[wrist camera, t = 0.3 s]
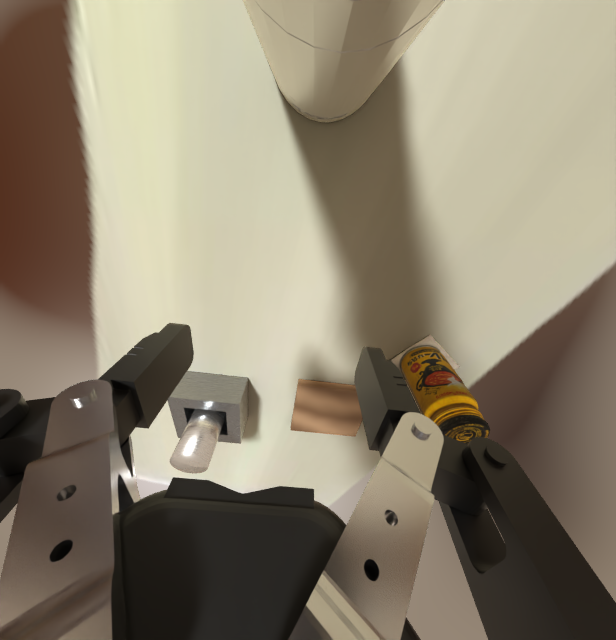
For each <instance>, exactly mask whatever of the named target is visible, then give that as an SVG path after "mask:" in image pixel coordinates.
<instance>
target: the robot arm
mask: <svg viewBox="0 0 616 640" xmlns="http://www.w3.org/2000/svg"><path fill="white" fill-rule="evenodd" d="M444 1H445V0H243V2H244V4H245V7H246V9H247V12H248V14H249V16H250V19H251V21H252V24H253V26H254V29H255V31H256V34H257V36H258V38H259V41H260V43H261V46H262V48H263V51H264V53H265V56H266V58H267V61H268V63H269V66H270V68H271V70H272V73H273V75H274V77H275V80H276V82H277V84H278V87H279V89H280V91H281V92H282V94H283V95H284V97H285V98H286V100H287V102H288V103H289V104H290V105H291V106H292V107H293V108H294V109H295V110H296V111H297V112H298V113H300V114H302V115H303V116H305V117H306V118H308V119H311V120H314V121H317V122H334V121H338V120H342V119H344V118H345V117H347V116H349V115H351V114H353V113H354V112H355V111H356V110H358V109H359V108H360V107H361V106H362V105H363V104H364V103H365V102H366V100H367V99H368V98H369V97H370V95H371V94H372V93H373V92H374V90H375V89H376V88H377V87H378V86H379V85H380V83H381V82H382V81H383V79H384V78H385V77H386V76H387V74H388V73H389V72H390V70H391V69H392V68H393V67H394V65H395V64H396V63H397V61H398V60H399V59H400V58H401V56H402V55H403V54H404V52H405V51H406V50H407V49H408V47H409V46H410V45H411V43H412V42H413V41H414V39H415V38H416V37H417V36H418V34H419V33H420V32H421V30H422V29H423V28H424V27H425V25H426V24H427V23H428V21H429V20H430V19H431V18H432V16H433V15H434V14H435V12H436V11H437V10H438V9H439V7H440V6H441V5H442V3H443V2H444ZM193 354H194V353H193V345H192V337H191V330H190V327H189V325H183V324H175V323H169V324H167V325H166V326H165V327H164V328H163V329H162V330H161V331H160V332H159V333H153V334H151V335H149V336H147V337H145V338H143V339H142V340H141V341H140V342H139V343H138V344H137V345H135V346H134V348H132V349H131V350H130V351H129V352H128V353H127V355H124V356H123V357H122V358H121V359H120V360H119V361H118V362H117V363H116V364H114V365H113V366H112V367H111V368H110V369H109V370H108V371H107V372H106V373H105V374H103V375H102V376H101V377H100V378H99V379H98V380H88V381H84V382H80V383H77V384H75V385H73V386H70V387H69V388H67V389H65V390H64V391H62V392H61V393H59V394H58V395H57V396H56V397H53V398H45V399H37V400H29V401H25V399H24V398H23V396H22V395H21V393H20V392H19V391H17V390H13V389H1V390H0V522H1V521H2V520H3V519H4V518H5V517H6V516H7V514H8V513H9V512H10V511H11V510H12V509H13V507H14V506H15V505H16V504H17V507H16V512H15V516H14V521H13V525H12V529H11V534H10V538H9V542H8V547H7V551H6V556H5V560H4V564H3V569H2V573H1V577H0V640H421V639H420V638H419V636H418V635H417V633H416V632H415V630H414V629H413V627H412V625H411V624H410V622H409V621H408V620H407V618H406V615H407V610H408V607H409V602H410V598H411V594H412V590H413V586H414V582H415V578H416V574H417V570H418V565H419V561H420V557H421V553H422V549H423V545H424V541H425V537H426V533H427V529H428V525H429V520H430V516H431V512H432V508H433V504H434V499H435V500H438V501H439V503H440V506H441V509H442V512H443V515H444V517H445V520H446V523H447V526H448V529H449V531H450V534H451V537H452V540H453V543H454V545H455V548H456V551H457V554H458V556H459V559H460V562H461V565H462V567H463V570H464V573H465V576H466V579H467V582H468V584H469V587H470V590H471V592H472V596H473V598H474V601H475V604H476V607H477V609H478V612H479V615H480V618H481V621H482V623H483V626H484V629H485V632H486V635H487V637H488V640H616V603H615V601H614V600H613V598H612V597H611V595H610V594H609V593H608V591H607V590H606V589H605V587H604V585H603V584H602V582H601V581H600V580H599V578H598V577H597V576H596V574H595V573H594V571H593V570H592V569H591V567H590V565H589V564H588V563H587V561H586V560H585V558H584V557H583V555H582V554H581V552H580V551H579V550H578V548H577V547H576V545H575V544H574V542H573V541H572V540H571V538H570V537H569V535H568V534H567V533H566V531H565V530H564V528H563V527H562V525H561V524H560V522H559V521H558V520H557V518H556V517H555V515H554V514H553V513H552V511H551V509H550V508H549V507H548V505H547V504H546V502H545V501H544V499H543V498H542V497H541V495H540V494H539V492H538V491H537V489H536V488H535V487H534V485H533V484H532V482H531V481H530V480H529V478H528V477H527V475H526V474H525V472H524V471H523V470H522V468H521V467H520V465H519V464H518V462H517V461H516V460H515V458H514V457H513V456H512V455H511V454H510V453H509V452H508V451H507V450H506V449H505V448H503V447H502V446H501V445H499V444H498V443H496V442H494V441H492V440H490V439H488V438H484V437H475V438H473V439H472V440H471V441H470V442H469V443H468V444H466V443H463V442H461V441H458V440H456V439H453V438H450V437H448V436H445V435H443V434H442V432H441V430H440V429H439V427H438V426H437V425H436V424H435V423H434V422H433V421H432V420H431V419H429V418H428V417H426V416H424V415H422V414H421V413H420V411H419V409H418V407H417V405H416V403H415V401H414V399H413V396H412V394H411V392H410V390H409V388H408V387H407V384H406V382H405V380H404V379H403V376H402V374H401V372H400V370H399V368H398V367H397V366H396V365H395V364H394V363H393V362H392V361H391V360H386V359H385V356H384V354H383V352H382V350H381V349H380V348H372V347H364V348H363V349H362V352H361V355H360V359H359V362H358V365H357V368H356V371H355V387H356V392H357V396H358V401H359V405H360V409H361V414H362V418H363V423H364V427H365V432H366V436H367V441H368V445H369V450H376V451H379V452H380V456H381V459H380V461H379V463H378V465H377V467H376V468H375V470H374V472H373V474H372V476H371V478H370V480H369V482H368V484H367V486H366V488H365V490H364V492H363V494H362V496H361V498H360V500H359V502H358V504H357V506H356V508H355V510H354V512H353V514H352V516H351V518H350V520H349V522H348V523H347V525H346V524H345V523H344V522H343V521H342V520H341V519H340V518H339V517H338V516H337V515H336V514H335V513H334V512H333V511H331V510H330V509H329V508H328V507H326V506H324V505H323V504H321V503H319V502H317V501H314V489H308V488H295V487H283V486H279V487H274V488H269V489H265V490H260V491H255V492H250V493H245V494H242V493H238V492H236V491H233V490H231V489H228V488H226V487H223V486H221V485H219V484H216V483H214V482H211V481H209V480H198V479H185V478H173V479H172V481H171V483H170V485H169V487H168V489H167V490H163V491H160V492H157V493H154V494H152V495H149V496H147V497H145V498H143V499H140V495H139V491H138V487H137V482H136V474H135V465H134V457H133V449H132V440H131V436H130V434H131V433H132V431H133V430H134V429H135V427H140V428H149V427H150V425H151V424H152V422H153V421H154V419H155V418H156V416H157V415H158V413H159V412H160V410H161V409H162V407H163V406H164V404H165V403H166V401H167V400H168V398H169V397H170V395H171V394H172V392H173V391H174V389H175V388H176V386H177V385H178V383H179V382H180V381H181V379H182V378H183V376H184V375H185V373H186V372H187V370H188V369H189V367H190V366H191V363H192V361H193ZM487 508H488V509H489V511H490V513H491V515H492V517H493V519H494V521H495V523H496V525H497V527H498V529H499V531H500V533H501V535H502V537H503V539H504V541H503V539H502V537H501V535H500V533H499V531H498V529H497V527H496V525H495V523H494V521H493V519H492V517H491V515H490V513H489V511H488V509H487ZM504 542H505V543H504Z"/></svg>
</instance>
